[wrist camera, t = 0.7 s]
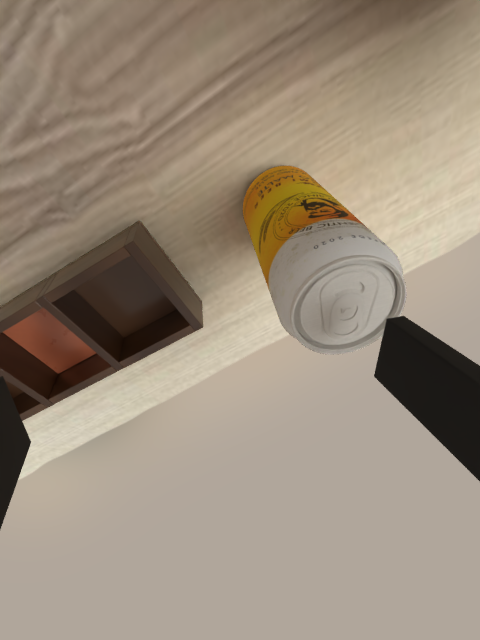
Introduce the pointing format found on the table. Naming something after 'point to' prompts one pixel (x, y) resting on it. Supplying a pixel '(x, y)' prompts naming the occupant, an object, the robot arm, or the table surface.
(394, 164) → the table surface
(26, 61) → the table surface
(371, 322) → the beer can
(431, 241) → the table surface
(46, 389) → the rack
